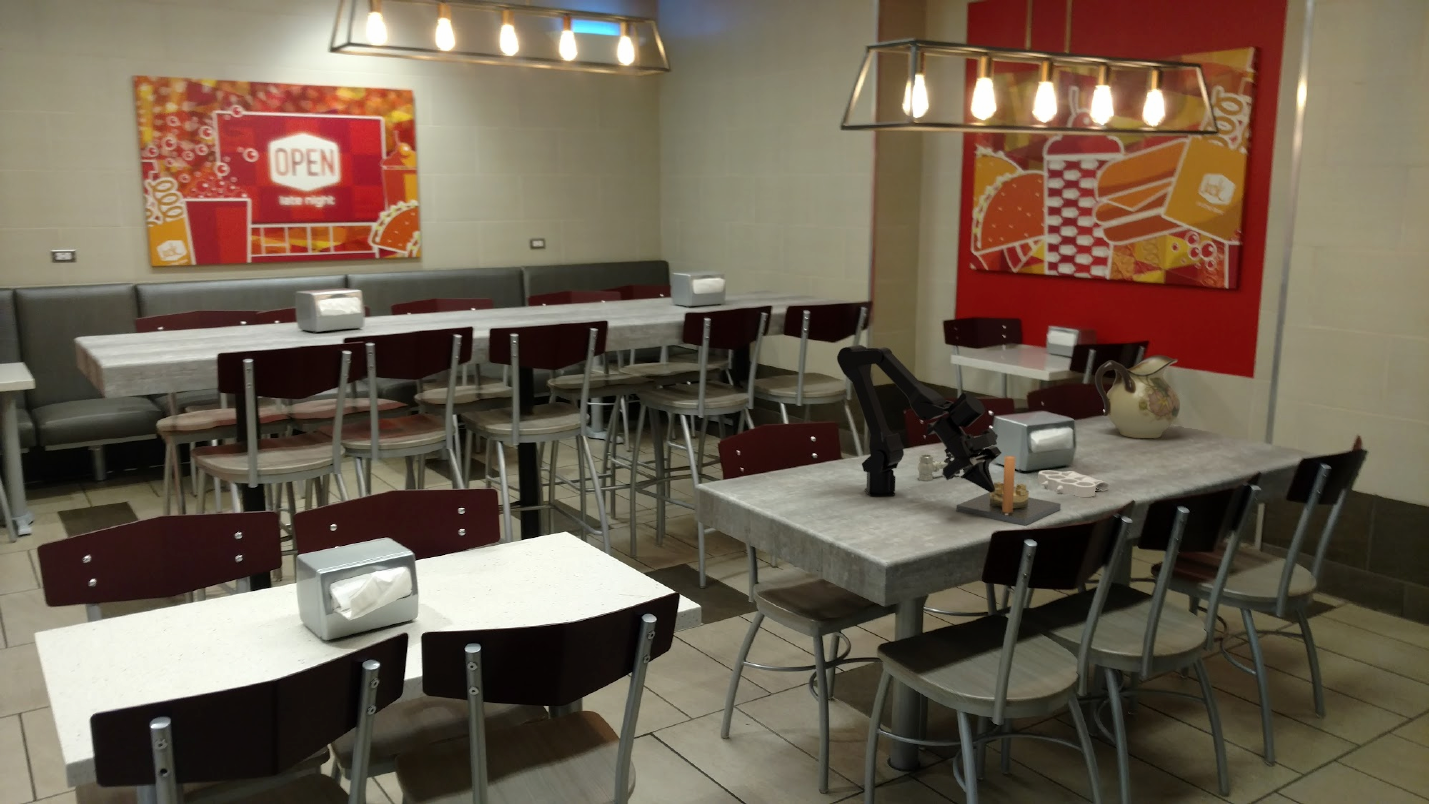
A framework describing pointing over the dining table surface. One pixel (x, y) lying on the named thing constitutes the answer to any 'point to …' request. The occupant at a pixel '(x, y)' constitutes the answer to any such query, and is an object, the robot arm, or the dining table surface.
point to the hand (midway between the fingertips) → (993, 491)
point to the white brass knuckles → (1070, 483)
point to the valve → (931, 466)
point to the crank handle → (1009, 490)
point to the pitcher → (1140, 397)
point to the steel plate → (1018, 516)
